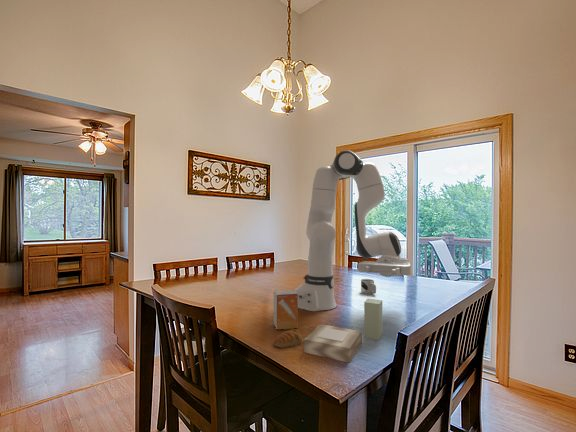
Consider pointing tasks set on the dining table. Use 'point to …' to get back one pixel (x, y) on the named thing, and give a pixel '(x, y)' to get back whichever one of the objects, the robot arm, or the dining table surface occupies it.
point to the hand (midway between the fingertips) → (380, 271)
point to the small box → (286, 309)
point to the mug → (368, 286)
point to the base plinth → (333, 342)
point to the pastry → (288, 338)
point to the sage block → (373, 319)
